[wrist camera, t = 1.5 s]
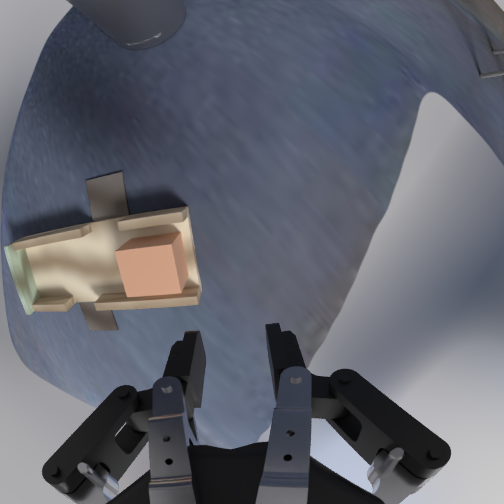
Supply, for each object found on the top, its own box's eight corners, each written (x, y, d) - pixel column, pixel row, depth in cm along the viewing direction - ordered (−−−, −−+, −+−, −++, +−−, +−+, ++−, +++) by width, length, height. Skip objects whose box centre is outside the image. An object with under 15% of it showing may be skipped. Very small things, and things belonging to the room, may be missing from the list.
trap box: (16, 203, 26) (-5, 210, 22) (182, 160, 27) (172, 160, 23) (53, 328, 33) (40, 343, 28) (209, 324, 33) (206, 346, 29)
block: (130, 238, 28) (114, 251, 24) (180, 231, 28) (171, 244, 24) (140, 279, 30) (127, 297, 26) (188, 275, 30) (181, 293, 26)
